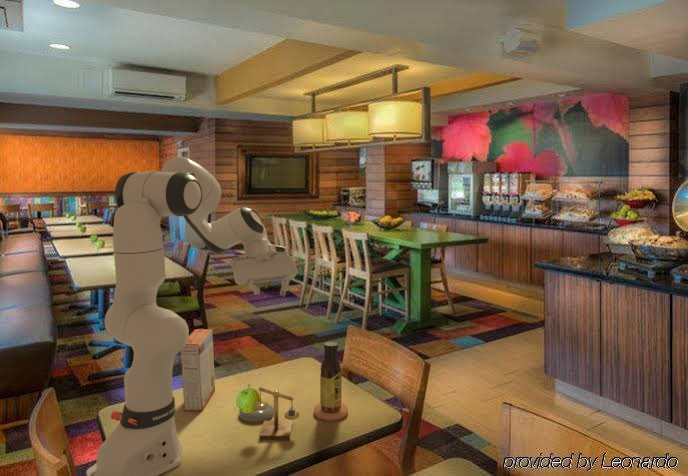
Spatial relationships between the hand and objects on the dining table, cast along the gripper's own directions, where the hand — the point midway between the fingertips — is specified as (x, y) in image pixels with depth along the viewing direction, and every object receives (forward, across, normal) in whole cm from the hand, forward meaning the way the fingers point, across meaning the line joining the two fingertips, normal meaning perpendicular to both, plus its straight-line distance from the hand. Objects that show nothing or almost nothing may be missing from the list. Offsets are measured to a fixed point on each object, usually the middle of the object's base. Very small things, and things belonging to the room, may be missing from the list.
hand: (272, 291), depth 163 cm
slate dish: (+31, -10, +16) cm, 36 cm away
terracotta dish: (+38, +10, +9) cm, 40 cm away
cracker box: (+19, -22, +28) cm, 41 cm away
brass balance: (+40, -9, +8) cm, 41 cm away
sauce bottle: (+37, +10, +9) cm, 39 cm away
